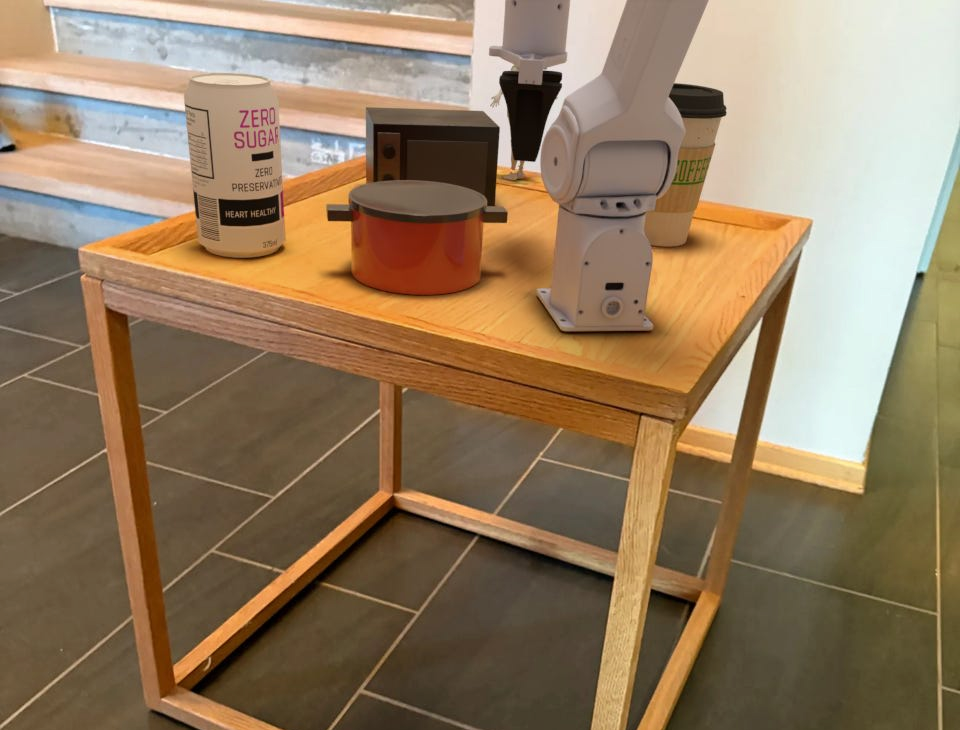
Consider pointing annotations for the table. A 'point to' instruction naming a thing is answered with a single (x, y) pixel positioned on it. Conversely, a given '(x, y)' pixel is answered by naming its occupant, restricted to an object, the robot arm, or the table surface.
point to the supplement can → (235, 163)
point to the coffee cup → (687, 164)
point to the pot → (416, 235)
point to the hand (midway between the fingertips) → (525, 156)
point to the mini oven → (433, 147)
